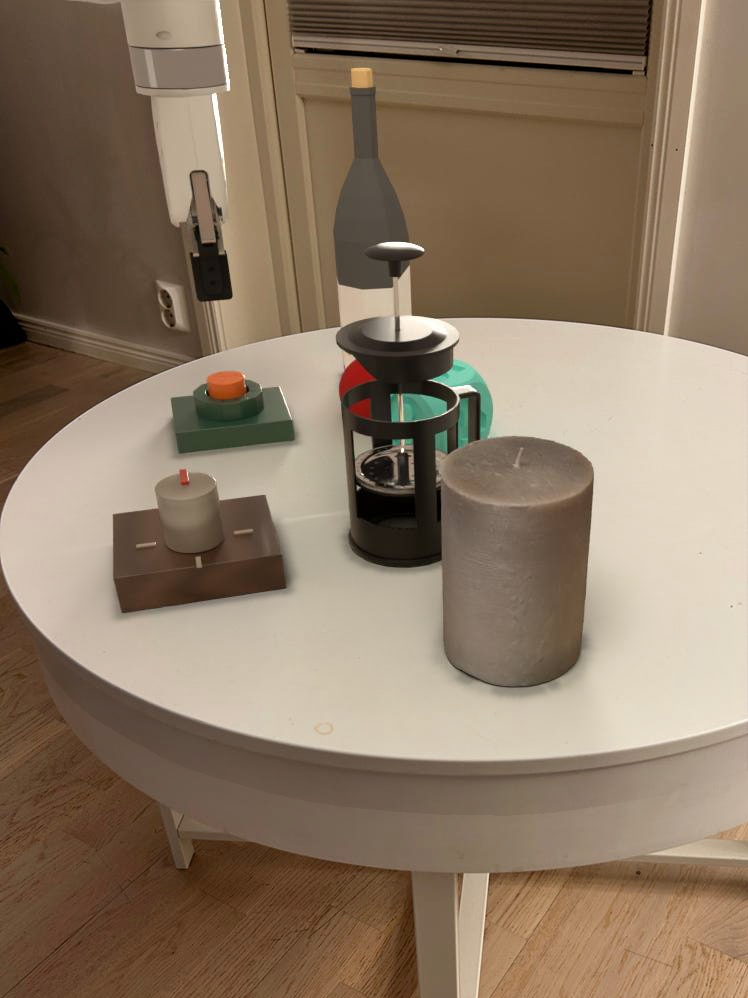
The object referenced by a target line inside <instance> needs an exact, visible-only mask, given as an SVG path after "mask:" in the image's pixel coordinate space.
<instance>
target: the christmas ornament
mask: <svg viewBox="0 0 748 998" xmlns="http://www.w3.org/2000/svg"><path fill="white" fill-rule="evenodd" d="M372 380H376V379H375V378H374V377H373V376H372V375H371V374H369V373H368V372H367V371H366V370H365V369H364V368H363V366H362V365H361V364H360V363H359V362H358V361H357V360H356V359H355V360H354V361H353V362H351V363H350V364H349V365H348V367H347V368H346V369H345V370H344V371H343V372H342V374H341V377H340V380H339V384H338V396H339V400H340V402H341V398H342V395H343V394H344V393H345V392H346V391H347V390H349V389H350V388H352V387H354V386H356V385H358V384H361V383H364V382H368V381H372ZM348 410H349V411H350V412H352V413H354V414H356V415H358V416H361V417H364V418H368V419H371V416H370V399H369V398H368V399H365V400H362V401H360V402H358V403H356V404H354V405H353V406H351V407H350V408H349V409H348Z"/></svg>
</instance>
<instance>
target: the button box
mask: <svg viewBox="0 0 748 998" xmlns="http://www.w3.org/2000/svg"><path fill="white" fill-rule="evenodd" d="M245 384H246V391H247V394H246V395H243V396H240V397H237V398H233V399H215V398H211V397H209V392H208V385H207V382H205V383H201V384H200V385H199V386H197V387H196V388H195V389H194V390H192V395H183V396H174V397H170V405H171V412H172V419H173V427H174V428H173V429H174V434H175V435H174V436H175V439H176V446H177V451H178V454H179V455H181V454H182V455H183V454H189V453H199V452H206V451H215V450H223V449H233V448H240V447H250V446H259V445H266V444H267V445H269V444H274V443H275V444H276V443H285V442H293V441H295V431H294V429H295V428H294V421H293V418H292V416H291V415H292V414H291V413H290V410H289V407H288V404H287V402H286V399H285V396H284V393H283V391H282V388H281V386H271V387H262V386H261V384H260V383H258V382H255V381H253V380H251V379H245Z"/></svg>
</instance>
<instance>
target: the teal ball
mask: <svg viewBox="0 0 748 998" xmlns="http://www.w3.org/2000/svg"><path fill="white" fill-rule="evenodd" d="M430 380H433V381H437V382H441V383H443V384H446V385H448V386H450V387H451V388H456V387H461V386H471V387H473V388H474V389H475V390H476V391H478V392H479V393H480V396H481V431H480V440H483V439H488V437H489V435H490V432H491V427H492V424H493V417H494V403H493V402H494V401H493V397H492V394H491V391H490V389H489V387H488V385H487V383H486V381H485V379H484V378H483V376H482V375H481V374H480V373H479V372H478V370H477V369H476V368H474V366H473V365H471V364H470V363H468V362H466V361H463V360H460V359H456V358H453V367H452V368H451V369H450V370H449V371H448V372H447V373H445V374H443V375H441V376H439V377H436V378H433V379H430ZM402 396H403V421H404V422H406V421H417V420H424V419H428V418H432V417H435V416H438V415H441V414H443V413H445V412H447V402H445V401H443V400H441V399H438V398H434V397H431V396H425V395H418V394H402ZM390 398H391V419H392V422H399V408H398V394H390ZM392 440H393V445H397V444H400V440H394V439H392ZM404 444H413V439H404ZM466 444H468V398H465V399H460V416H459V420H458V448H460V447H462V446H464V445H466ZM435 448H436V449H439V450H441V451H443V452H446V453H447V430H446V431H444V432H441V433H438V434H436V435H435Z"/></svg>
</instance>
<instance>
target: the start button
mask: <svg viewBox="0 0 748 998" xmlns="http://www.w3.org/2000/svg"><path fill="white" fill-rule="evenodd" d="M245 377H246V376H245V375H244V374H243V373H241V372H239V371H235V370H224V371H217V372H214V373H211V374H209V375H208V376H207V377H206V383H207V385H208V392H209V397H211V398H215V399H233V398H237V397H240V396H243V395H246V394H247V391H246V384H245V380H246V378H245Z"/></svg>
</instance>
